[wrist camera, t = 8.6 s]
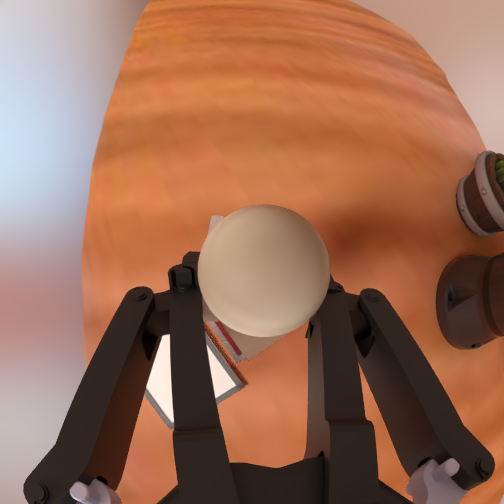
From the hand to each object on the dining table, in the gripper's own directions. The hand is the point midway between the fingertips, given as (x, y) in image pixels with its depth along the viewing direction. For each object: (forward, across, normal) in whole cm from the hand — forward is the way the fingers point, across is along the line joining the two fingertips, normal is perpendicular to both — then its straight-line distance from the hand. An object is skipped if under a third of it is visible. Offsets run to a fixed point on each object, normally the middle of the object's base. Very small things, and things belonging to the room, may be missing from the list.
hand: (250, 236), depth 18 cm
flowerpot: (+20, +42, -3) cm, 47 cm away
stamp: (+1, 0, -6) cm, 6 cm away
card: (+3, -7, -20) cm, 21 cm away
